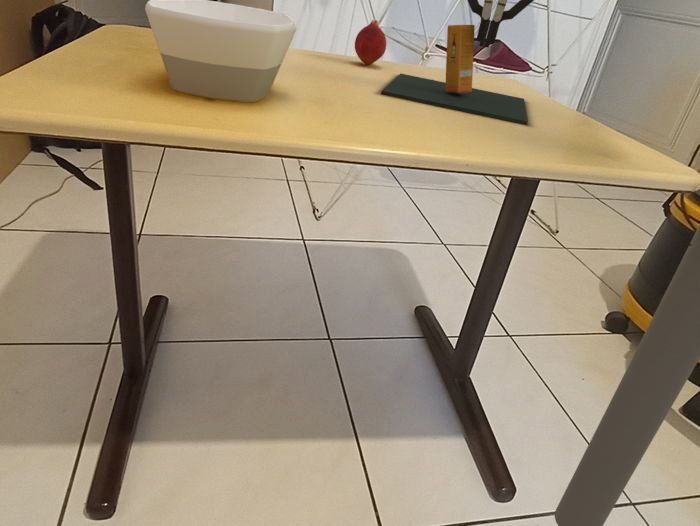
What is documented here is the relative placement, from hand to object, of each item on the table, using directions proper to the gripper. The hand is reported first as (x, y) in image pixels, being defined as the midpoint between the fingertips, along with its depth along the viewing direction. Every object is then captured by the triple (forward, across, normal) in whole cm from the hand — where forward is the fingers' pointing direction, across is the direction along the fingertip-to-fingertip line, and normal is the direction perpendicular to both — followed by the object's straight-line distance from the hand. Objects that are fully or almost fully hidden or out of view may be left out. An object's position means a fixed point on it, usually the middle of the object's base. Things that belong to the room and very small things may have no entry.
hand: (483, 46), depth 86 cm
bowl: (+9, +31, +26) cm, 42 cm away
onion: (+9, +20, -13) cm, 25 cm away
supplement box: (+8, +2, 0) cm, 8 cm away
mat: (+8, +2, 0) cm, 9 cm away
